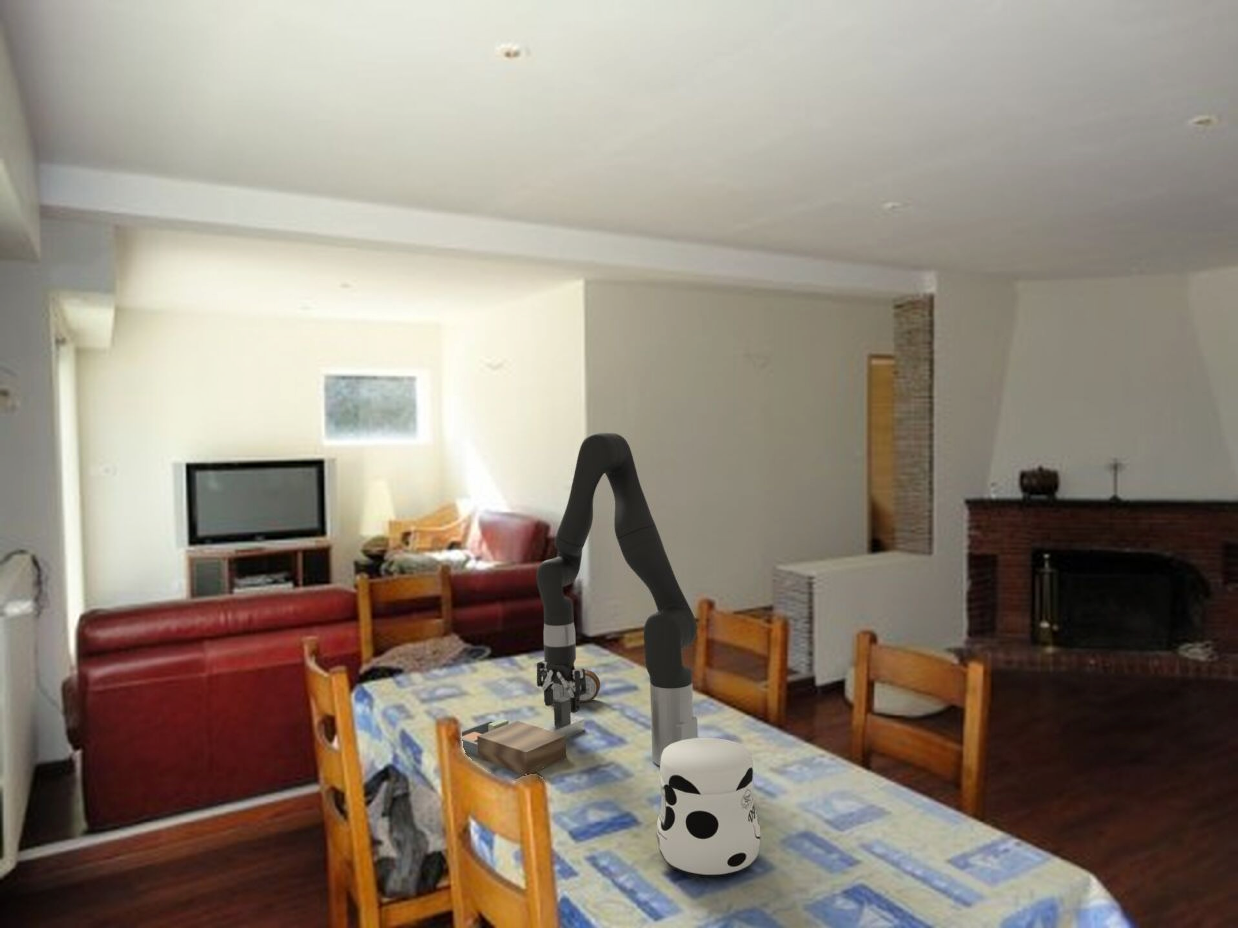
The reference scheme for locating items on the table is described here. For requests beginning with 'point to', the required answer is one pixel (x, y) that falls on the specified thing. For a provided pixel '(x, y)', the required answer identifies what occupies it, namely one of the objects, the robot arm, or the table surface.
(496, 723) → the sage tile
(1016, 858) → the table surface
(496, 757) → the walnut block
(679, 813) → the milk container
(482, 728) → the tray
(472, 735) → the peach flat block
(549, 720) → the table surface
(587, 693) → the tin
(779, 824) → the table surface
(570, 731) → the scraper
